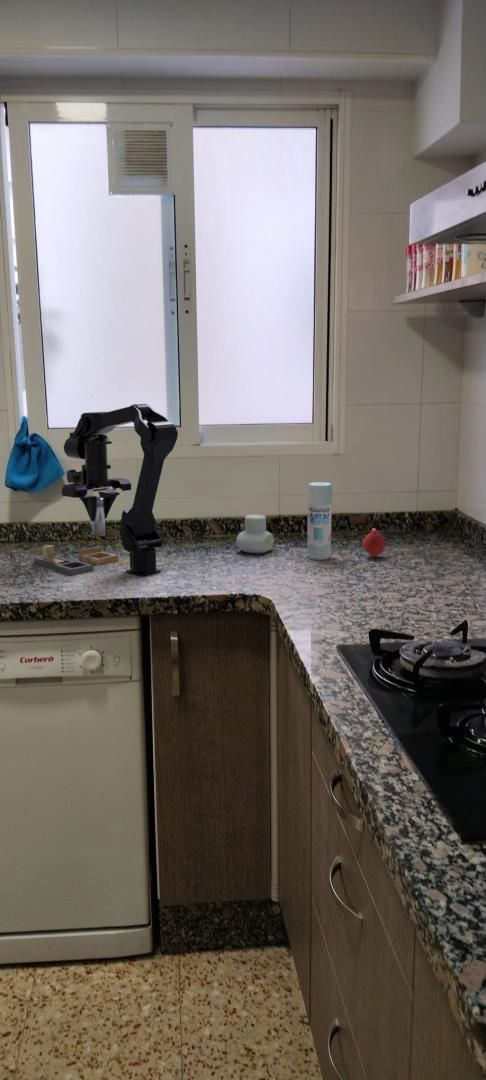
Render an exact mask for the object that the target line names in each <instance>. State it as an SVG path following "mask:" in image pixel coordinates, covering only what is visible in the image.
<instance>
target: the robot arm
mask: <svg viewBox="0 0 486 1080" xmlns="http://www.w3.org/2000/svg"><path fill="white" fill-rule="evenodd" d="M145 421H146V422H145ZM132 423H133V428H134V432H135V433H136V434H137V435H138V436H139V437H140V441H139V443H140V447H141V450H142V452H143V458H142V463H141V466H140V467H141V468H140V471H139V477H138V481H137V484H136V488H135V489H136V490H135V494H134V498H133V502H132V507H131V508H130V509H125V510H122V512H121V517H120V518H121V519H120V521H119V523H118V525H119V526H120V527H119V535H120V538H121V539H120V540H121V543H122V546H123V550H125V551H126V552H128V553H129V567H130V568H129V569H125V573H128V574H131V575H135V576H139V577H145V576H148V575H149V576H150V575H153V574H159V573H161V572H162V570H161V569H159V568H157V549H156V548H162V546H163V544H164V543H163V542H164V539H163V537H162V536H161V535H160V533H159V531H158V530H157V528H156V522H157V520H156V518H155V515H154V512H153V509H154V504H155V502H156V501H155V500H156V496H157V491H158V487H159V483H160V479H161V476H162V475H161V474H162V472H163V466H164V462H165V459H166V458H167V457H168V456H169V454H170V453H171V452H172V451H173V450H174V447H175V445H176V442H177V440H178V437H179V431H178V429H177V427H176V425H175V423H173V422H172V420H170V419H169V418H168V417H167V416H165V415H164V414H161V413H160V412H158V411H156V410H155V409H153V407H152V406H150V405H149V404H147V403H137V404H136V403H133V404H131V405H130V406H126V407H123V408H117V409H115V410H110V411H95V412H94V411H93V412H83V413H81V415H80V418H79V420H78V422H77V424H76V428H75V430H74V431H73V432H69V437H67V439H66V440H65V441H64V445H63V452H64V453H65V455H66V456H67V457H69V458H72V459H78V460H79V459H80V460H84V463H85V464H82V465H81V470H80V471H77V470H76V469H69V470H67V471H66V480H67V483H68V484H63V486H62V487H61V496H63V497H67V498H72V499H74V498H78V499H80V501H81V502H82V504H83V505H84V508H85V510H86V513H87V515H88V517H89V519H90V521H91V522H92V521H94V520H95V514H96V502H97V497H98V496H96V495H94V493H95V492H98V495H99V497H104V512H105V520H106V519H107V518H108V515H109V513H110V510H111V508H112V507H113V504H114V503H115V500H116V498H117V497H118V496H120V495H121V494H120V493H121V492H117V489H120V490H121V491H122V492H125V491H132V482H131V481H130V479H128V478H121V477H115V478H109V470H111V469H112V468H111V467H112V466H111V464H108V445H111V444H112V443H113V440H111V439H110V438H109V437H108V436H107V435H106V434H108V433H109V432H112V431H114V429H115V427H118V426H125V425H127V424H132Z"/></svg>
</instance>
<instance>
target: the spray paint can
mask: <svg viewBox="0 0 486 1080" xmlns="http://www.w3.org/2000/svg"><path fill="white" fill-rule="evenodd" d="M332 505H333V483H330V482H325V481H324V482H323V481H320V482H319V481H317V482H315V481H314V482H309V483H308V484H307V538H306V539H307V540H306V541H307V545H306V550H307V551H306V555H307V556H306V557H307V558H308V559H310V560H319V561H321V560H328V559H330V557H331V547H332V545H331V542H332V541H331V540H332V510H333V509H332V508H333V507H332Z"/></svg>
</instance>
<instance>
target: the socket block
mask: <svg viewBox="0 0 486 1080" xmlns="http://www.w3.org/2000/svg"><path fill="white" fill-rule="evenodd" d="M54 558H56V559H60V560H63V561H66V563H63V564H60V563H57V562H53V561H49V560H46V559H43V557H42V558H41V557H38V556H34V557H33V564H35V565H38V566H43V567H46V568H50V569H53V570H55V571H56V572H58V573H62V574H64V575H68V576H76V575H80V574H84V573H89V572H93V571H94V564H90V563H86V562H83V561H79V560H72V559H71V560H70V559H68V558H63V557H61V556H58V555H57V556H56V555H54Z"/></svg>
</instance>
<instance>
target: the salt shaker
mask: <svg viewBox="0 0 486 1080" xmlns="http://www.w3.org/2000/svg"><path fill="white" fill-rule="evenodd" d="M105 522H106V519H105V512H104V497H100V496H97V502H96V514H95V520H94V521H91V534H92V535H91V536H92V537H104V536H106V523H105Z"/></svg>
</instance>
